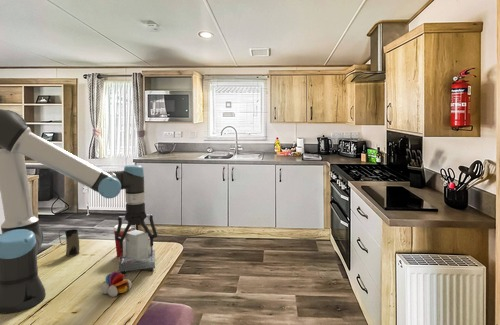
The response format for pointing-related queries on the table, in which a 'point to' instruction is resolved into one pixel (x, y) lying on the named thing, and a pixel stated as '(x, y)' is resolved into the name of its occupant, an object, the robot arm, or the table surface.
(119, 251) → the paper cup
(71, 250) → the mug
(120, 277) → the rainbow segmented toy
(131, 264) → the grey storage bin
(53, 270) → the table surface
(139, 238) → the small box
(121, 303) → the table surface
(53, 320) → the table surface
